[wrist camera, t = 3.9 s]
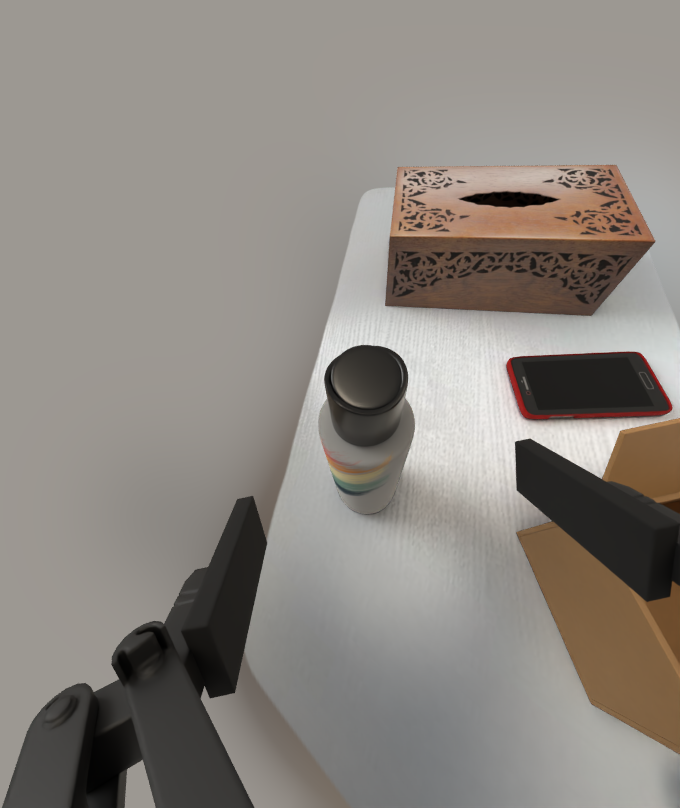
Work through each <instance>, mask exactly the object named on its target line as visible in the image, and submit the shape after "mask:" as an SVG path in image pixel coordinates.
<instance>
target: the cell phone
mask: <svg viewBox="0 0 680 808" xmlns="http://www.w3.org/2000/svg"><path fill="white" fill-rule="evenodd" d="M506 366H507V371H508V374H509V377H510V381H511V384H512V387H513V390H514V393H515V397H516V400H517V403H518V406H519V409H520V412H521V414H522V415H523V416H524V417H525V418H528V419H548V418H563V417H573V418H593V417H624V416H655V415H664V414H667V413H669V412H670V411H672V404H671V402H670V400H669V398H668V397H667V395H666V393H665V391H664V390H663V388H662V386H661V385H660V383H659V381H658V379H657V378H656V376H655V374H654V372H653V371H652V369H651V367H650V366H649V364H648V362H647V361H646V359H645V358H644V356H643V355H642V354H640V353H638V352H609V353H586V354H564V355H541V356H520V357H513V358H510V359H509V361H508V362H507V365H506Z"/></svg>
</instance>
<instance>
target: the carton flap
mask: <svg viewBox="0 0 680 808" xmlns="http://www.w3.org/2000/svg"><path fill="white" fill-rule="evenodd" d="M602 480H604V481H606V482H609V481H613V482H616V483H619V484H622V485H625V486H629V487H631V488H632V489H634V490H636V491H638V492H640V493H642V494H643V495H644V496H647V497H649V498H655V497H659V496H664V495H668V494H673V493H677V492H680V418H678V419H673V420H669V421H664V422H659V423H655V424H650V425H645V426H640V427H636V428H631V429H626V430H622V431H620V433H619V436H618V438H617V441H616V444H615V446H614V449H613V452H612V454H611V457H610V459H609V462H608V465H607V467H606V470H605V473H604V475H603V478H602Z"/></svg>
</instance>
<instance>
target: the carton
mask: <svg viewBox="0 0 680 808" xmlns="http://www.w3.org/2000/svg"><path fill="white" fill-rule="evenodd" d="M651 499H653V500H655V502H656V503H660V504H662V505H664V506H666V507H668V508H669V509H671V510H673V511H675V512H677V513H679V514H680V492H677V493H673V494H668V495H664V496H659V497H655V498H651ZM516 533H517V535H518V537H519V540H520V542H521V544H522V546H523V549H524V551H525V553H526V556H527V558H528V560H529V562H530V565H531V567H532V569H533V572H534V574H535V576H536V579H537V581H538V583H539V585H540V588H541V590H542V592H543V595H544V597H545V599H546V601H547V604H548V606H549V608H550V611H551V613H552V615H553V617H554V620H555V622H556V624H557V627H558V629H559V631H560V633H561V636H562V638H563V640H564V643H565V645H566V647H567V649H568V652H569V654H570V656H571V659H572V661H573V663H574V665H575V668H576V670H577V672H578V675H579V677H580V679H581V681H582V684H583V686H584V688H585V691H586V693H587V695H588V697H589V700H590V702H591V704H592V705H594V706H596V707H598V708H600V709H601V710H603V711H605V712H607V713H608V714H610V715H612V716H614V717H615V718H617V719H619V720H621V721H622V722H624V723H626V724H628V725H629V726H631V727H633V728H635V729H636V730H638V731H640V732H642V733H643V734H645V735H647V736H649V737H650V738H652V739H654V740H656V741H657V742H659V743H661V744H663V745H664V746H666V747H668V748H670V749H671V750H673V751H675V752H677V753H678V754H680V586H679V585H677V584H676V583H675V582H673V581H672V587H671V595H670V597H667V598H663V599H658V600H654V601H649V602H646V601H645V600H644V599H643V598H642V597H640V596H639V595H638V594H637V593H636V592H635V591H633V590H632V589H631V588H630V587H629V586H628V585H627V584H625V583H624V582H623V581H622V580H621V579H620V578H618V577H617V576H616V575H615V574H614V573H613V572H611V571H610V570H609V569H608V568H607V567H606V566H604V565H603V564H602V563H601V562H600V561H599V560H597V559H596V558H595V557H594V556H593V555H592V554H590V553H589V552H588V551H587V550H586V549H585V548H583V547H582V546H581V545H580V544H579V543H578V542H576V541H575V540H574V539H573V538H572V537H571V536H569V535H568V534H567V533H566V532H565V531H564V530H562V529H561V528H560V527H559V526H558V525H557V524H555V523H554V522H553V521H552V522H549V523H545V524H542V525H539V526H535V527H532V528H528V529H525V530H521V531H518V532H516Z"/></svg>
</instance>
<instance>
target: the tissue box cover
mask: <svg viewBox="0 0 680 808" xmlns="http://www.w3.org/2000/svg"><path fill="white" fill-rule="evenodd" d="M654 243H655V240H654V238H653V236H652V234H651V232H650V230H649V228H648V226H647V224H646V222H645V220H644V219H643V216H642V214H641V212H640V210H639V209H638V207H637V205H636V203H635V201H634V199H633V197H632V195H631V193H630V191H629V189H628V187H627V185H626V183H625V181H624V179H623V177H622V175H621V173H620V171H619V169H618V167H617V166H616V165H568V166H567V165H566V166H565V165H561V166H560V165H559V166H459V167H458V166H457V167H398V169H397V178H396V187H395V196H394V205H393V214H392V223H391V232H390V243H389V258H388V272H387V287H386V301H385V306H405V307H425V308H446V309H466V310H487V311H507V312H528V313H548V314H569V315H589V316H591V315H592V314H593V313H594V312H595V311H596V310H597V309H598V307H599V306H600V305H601V304H602V303H603V302H604V300H605V299H606V298H607V297H608V296H609V295H610V294H611V292H612V291H613V290H614V289H615V288H616V287H617V285H618V284H619V283H620V282H621V281H622V280H623V279H624V277H625V276H626V275H627V274H628V273H629V272H630V270H631V269H632V268H633V267H634V266H635V265H636V263H637V262H638V261H639V260H640V259H641V258H642V257H643V255H644V254H645V253H646V252H647V251H648V250H649V248H650V247H651V246H652V245H653V244H654Z"/></svg>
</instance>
